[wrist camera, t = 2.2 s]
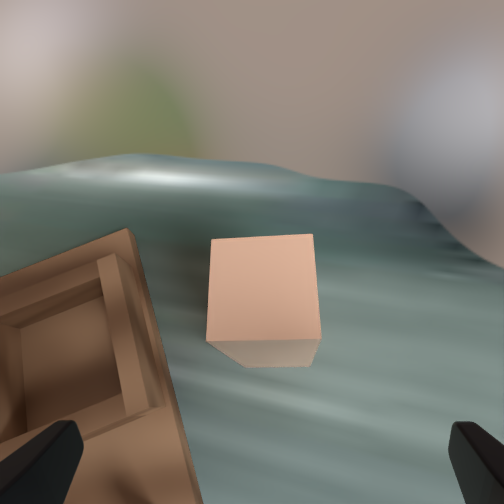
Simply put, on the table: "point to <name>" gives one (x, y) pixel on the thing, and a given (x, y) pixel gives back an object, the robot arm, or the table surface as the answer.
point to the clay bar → (264, 300)
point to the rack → (94, 374)
